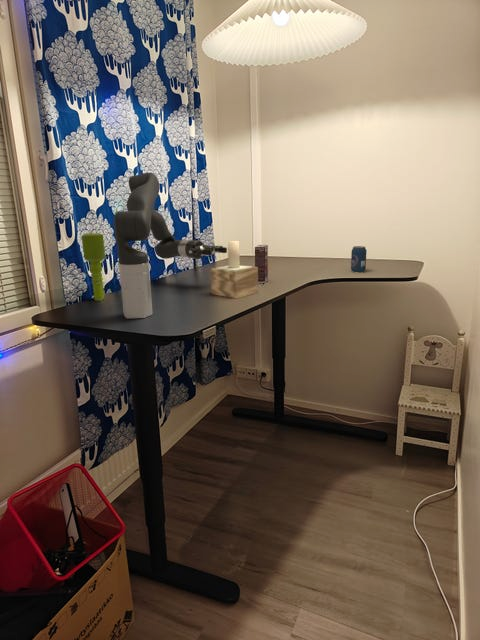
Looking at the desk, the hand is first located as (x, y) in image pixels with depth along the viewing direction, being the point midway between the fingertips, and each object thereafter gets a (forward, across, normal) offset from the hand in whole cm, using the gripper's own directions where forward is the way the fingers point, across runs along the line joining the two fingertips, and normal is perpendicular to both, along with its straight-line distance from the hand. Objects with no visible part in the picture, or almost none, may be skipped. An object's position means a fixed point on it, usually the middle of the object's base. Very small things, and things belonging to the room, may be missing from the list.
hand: (218, 251), depth 177 cm
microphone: (-28, -38, +16) cm, 50 cm away
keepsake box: (+8, 0, +16) cm, 18 cm away
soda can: (+24, +71, +16) cm, 77 cm away
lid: (+8, 0, +7) cm, 10 cm away
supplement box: (+2, +24, +16) cm, 29 cm away
